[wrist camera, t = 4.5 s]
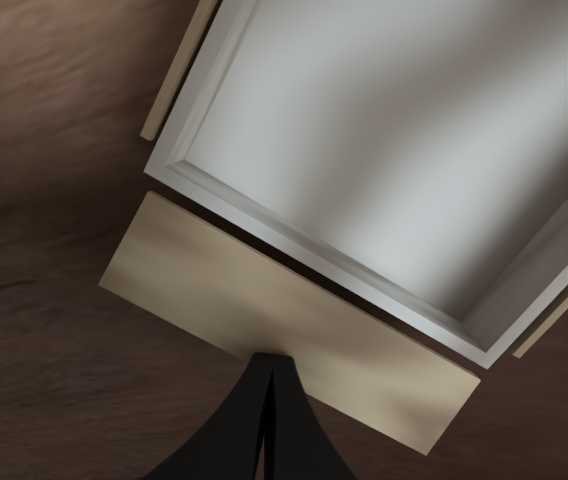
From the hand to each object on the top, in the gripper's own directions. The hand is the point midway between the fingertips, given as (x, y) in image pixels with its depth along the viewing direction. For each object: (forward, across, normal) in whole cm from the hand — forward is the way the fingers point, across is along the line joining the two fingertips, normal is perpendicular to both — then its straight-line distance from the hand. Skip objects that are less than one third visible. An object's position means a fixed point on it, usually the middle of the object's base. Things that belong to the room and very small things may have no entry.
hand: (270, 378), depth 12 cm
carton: (+4, -4, -9) cm, 11 cm away
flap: (+1, -2, -4) cm, 4 cm away
